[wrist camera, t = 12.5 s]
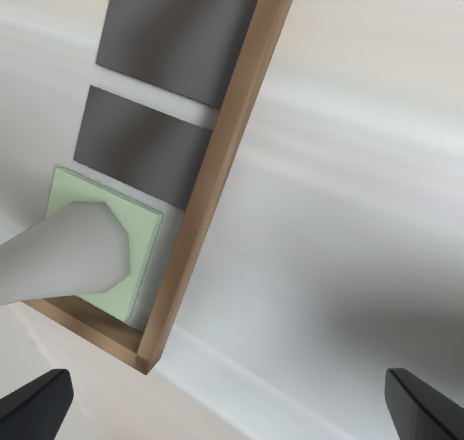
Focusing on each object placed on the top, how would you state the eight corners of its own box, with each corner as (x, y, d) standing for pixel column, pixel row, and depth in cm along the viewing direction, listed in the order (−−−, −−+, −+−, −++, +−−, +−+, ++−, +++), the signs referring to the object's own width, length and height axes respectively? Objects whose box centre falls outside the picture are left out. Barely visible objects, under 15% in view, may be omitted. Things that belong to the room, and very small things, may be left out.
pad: (163, 213, 21) (157, 215, 20) (129, 316, 23) (123, 322, 22) (64, 167, 22) (55, 167, 22) (42, 268, 25) (33, 271, 24)
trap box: (396, -282, 14) (410, -358, 12) (160, 358, 23) (146, 375, 21) (176, -298, 16) (157, -363, 14) (42, 290, 25) (19, 300, 23)
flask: (72, 300, 23) (-97, 387, 14) (40, 214, 23) (-156, 243, 13) (146, 281, 21) (9, 370, 11) (114, 186, 21) (-59, 196, 11)
